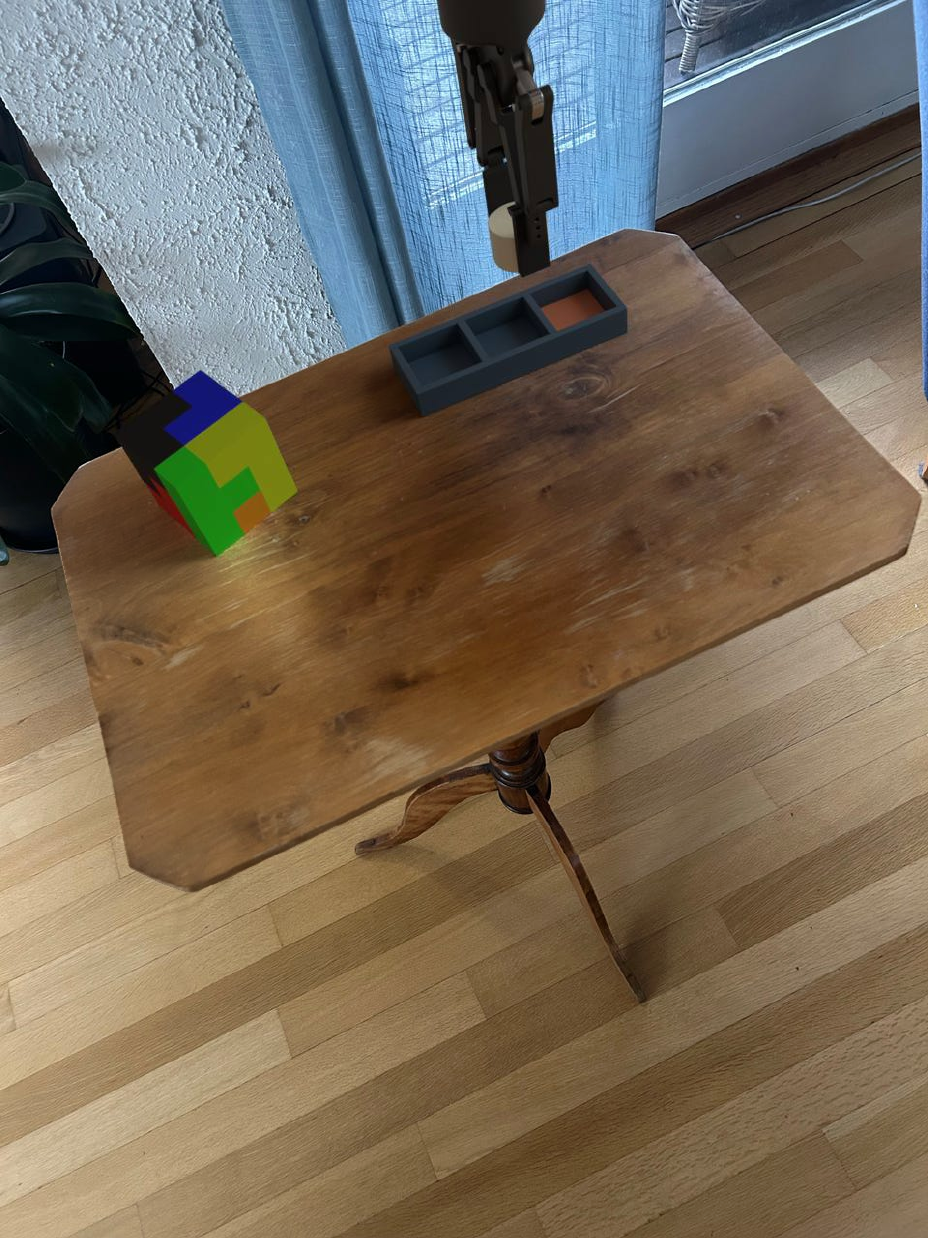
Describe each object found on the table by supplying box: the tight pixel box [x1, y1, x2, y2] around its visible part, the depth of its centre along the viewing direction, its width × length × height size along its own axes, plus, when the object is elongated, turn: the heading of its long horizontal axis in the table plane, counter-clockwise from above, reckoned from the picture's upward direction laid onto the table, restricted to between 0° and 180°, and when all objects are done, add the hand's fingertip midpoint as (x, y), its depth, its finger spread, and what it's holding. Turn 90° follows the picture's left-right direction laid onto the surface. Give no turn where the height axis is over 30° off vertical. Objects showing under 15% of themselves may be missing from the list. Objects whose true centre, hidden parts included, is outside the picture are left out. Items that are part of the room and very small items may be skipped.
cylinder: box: [487, 202, 551, 274], centre depth 85 cm, size 5×5×4 cm
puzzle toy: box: [112, 369, 299, 557], centre depth 92 cm, size 10×10×10 cm
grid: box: [388, 263, 629, 418], centre depth 100 cm, size 8×23×3 cm, turn 113°
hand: (520, 251), depth 86 cm, fingers closed on cylinder, 5 cm apart
